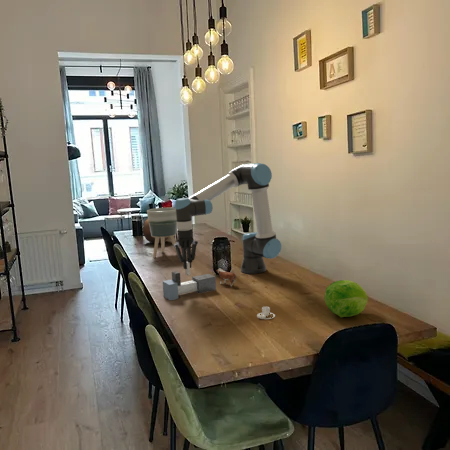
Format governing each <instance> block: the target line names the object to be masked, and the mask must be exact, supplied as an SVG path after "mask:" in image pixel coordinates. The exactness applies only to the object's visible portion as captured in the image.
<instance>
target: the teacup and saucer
mask: <svg viewBox="0 0 450 450" xmlns="http://www.w3.org/2000/svg"><path fill="white" fill-rule="evenodd" d="M269 313H270V314H269ZM260 314H261V315H260ZM271 314H273V317H272V316H271V317H272V318H271V317H269V315H271ZM266 316H267V317H266ZM256 317H257V319H261V320H270V319H274V318H275V317H276V314H274V313H273V312H271V307H269V306H266V305H265V306H262V307H261V312H259V313H257V314H256Z"/></svg>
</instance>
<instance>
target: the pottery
mask: <svg viewBox="0 0 450 450" xmlns="http://www.w3.org/2000/svg"><path fill="white" fill-rule="evenodd" d="M142 234H143V236H144V238H145V240H146V241H147V242H149V243H151V244H155V237H152V236H151V231H150V226H149V221H148V218H146V220H144V222H143V225H142ZM167 240H169V237H165V242H167ZM158 244H161V238H159V243H158Z"/></svg>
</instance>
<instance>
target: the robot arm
mask: <svg viewBox="0 0 450 450" xmlns="http://www.w3.org/2000/svg"><path fill="white" fill-rule="evenodd" d="M272 179H273V174H272V171H271V168H270V167H269V166H268V165H267V164H265V163H259V162H256V163H255V162H254V163H253V162H252V163H251V162H250V163H247V162H246V163H243V164H241V165H238V166H236V167H235V168H233V169H232V170H229V171H228V172H227V173H226V175H224V176H223V177H221V178H219V179H218V180H216V181H214V182H213V183H212V184H209V185H208V186H206V187H205V188H203V189H201V190H200V191H198V192H196V193H194V194H192V195H191V196H189V197H183V198H177V199H176V200H175V204H174V205H175V207H174V208H175V209H176V219H177V232H176V234H177V242H176V244H174V245H173V244H172V247H173V246H174V247H175V248H176V252H177V255H176V256H177V257H178V261H179V262H180V263H182V265H183V269H184V271H185V272H184V273H185V275H186V276H191V269H192V263H193V261H195V259H196V250H197V245H198V243H199V241H198V240H195V239H194V236H193V234H194V233H193V221H192V217H196V216H204V215H205V216H206V215H209V214H211V213H212V212H213V203H212V200H214V199H216V198H217V197H219V196H221V195H222V194H224V193H225V192H228V191H229V190H230V189H232V188H238V187H239V186H242V185H247V189H248V191H250V192H251V198H252V205H253V211H254V218H255V224H256V231H255V232H247V233H244V234H242V251H243V252H242V258H243V259H242V262H241V266H240V272H241V273H243V274H248V275H249V274H253V275H255V274H262V273H264V272H265V273H266V271H267V266H266V263H265V260H264V258H265V259H275V258H277V257H278V256H279V254H280V253H281V250H282V242H281V240H279V239H278V238H277V234H276V232H275V231H274V230H273V224H272V218H271V217H272V216H271V211H270V210H271V209H270V204H269V197H268V196H269V195H268V188H269V187H270V183H271V181H272ZM174 247H173V248H174ZM180 248H181V249H180ZM176 252H175V253H176Z"/></svg>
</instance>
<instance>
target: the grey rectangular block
mask: <svg viewBox="0 0 450 450" xmlns="http://www.w3.org/2000/svg"><path fill="white" fill-rule="evenodd" d="M191 279H192V280H196V281H198V291H194V292H195V293H197V294H199V295H200V294H205V293H210V292H213V291H214V292H215V291H216V290H217V283H216V276H215V275H212V274H210V273H206V274H200V275H196V276H192V278H191ZM192 280H191V281H192Z"/></svg>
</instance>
